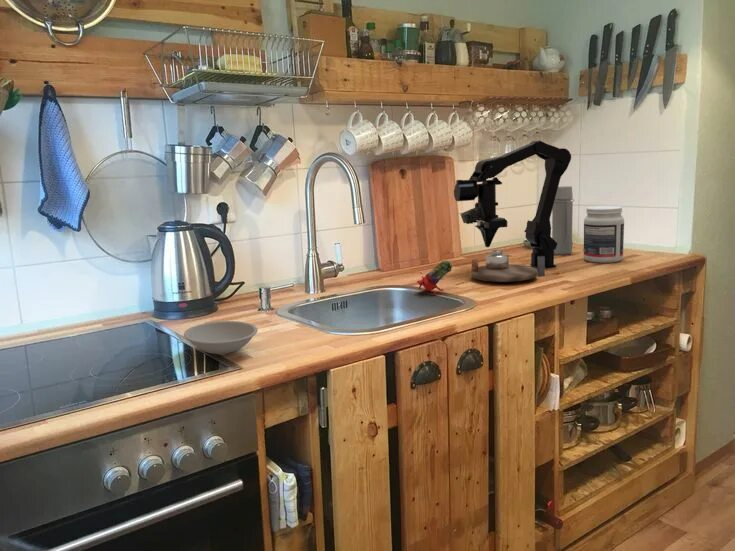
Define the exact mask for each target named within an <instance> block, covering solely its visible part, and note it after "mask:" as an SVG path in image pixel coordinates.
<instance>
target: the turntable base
mask: <svg viewBox="0 0 735 551" xmlns="http://www.w3.org/2000/svg"><path fill="white" fill-rule="evenodd" d="M488 282H490V283H497V284H498V283H500V284H501V283H502V284H503V283H504V284H507V283H508V284H510V283H518V282H519V281H510V282H497V281H488Z"/></svg>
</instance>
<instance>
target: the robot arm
mask: <svg viewBox="0 0 735 551" xmlns="http://www.w3.org/2000/svg"><path fill="white" fill-rule="evenodd" d="M535 155H536V156H537V157H538V158H540V159H542V160H544V171H545V178H544V180H543V185H542V189H541V193H540V197H539V200H538V205H537V208H536V213H535V215H534V218H533V219H532V220H527V222H526V227H525V229H524V231H523V232H524V233H525V239H526V241H527V242H528V243H529V245H530V247H531V248H532V252H531V255H530V259H531V262H530V265H529V266H530V267H534V268H536V269H538V256H544V257H545V268H555V267H557V265H556V264H555V254H554V249H556V247H557V242H556V241H555V240H554V239H553V238H552V227H551V226H552V225H551V216H552V209H553V205H554V201H555V197H556V193H557V190H558V186H560V182H561V178H562V176H563V175H564V174H565V172H566V171H567V170H568V168H569V165H570V163H571V160H572V154H571V152H570V151H569V150H568V149H567V148H564V147H563V148H562V147H561V148H559V147H557V146H555V145H552V144H551V145H550V144H549V143H546V142H544V141H542V140H533V141H530V143H528V144H525V145H523V146H521V147H518V148H516V149H514V150H511V151H509V152H507V153H504V154H503V155H500V156H496V157H490V158H486V159H481V160H479V161H477V162H476V164H475V167H474V171H473V172H472V174H471V176H470V177H469V179H455V180H456V181H455V185H454V188H453V196H454V200H455V202H465V201H475V200H476V198H477V202H475V203H474V207H473V208H470V209H468V210H466V211H464V212H462V213H460V217H461V219H462V222H463V224H466V225H469V224H470V225H471V224H472V225H473V224H474V223H476V225H474V226H475V227H476V228H477V229H478V230H479V231H480V234H481V237H482V240H483V242H484V243H483V244H484V247H485V248H490V246H491V245H492V242H493V240H494V238H495V235H496V234H497V231H498V230H499V228H508V220H507V219H506V218H504V217H499V215H498V214H497V206H499V202H497V197H496V196H497V195H496V194H497V193H496V192H497V189H496V187H497V186H498V185H502V184H503V182H502V181H501V180H500V179H499V178H498V177H497V176H498V175H500V174H501V173H502V172H503V171H505V169H507V168H508V167H510V166H512V165H514V164H517V163H520V162H522V161H523V160H526V159H529V158H531V157H533V156H535Z"/></svg>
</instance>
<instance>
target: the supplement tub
mask: <svg viewBox="0 0 735 551" xmlns="http://www.w3.org/2000/svg"><path fill="white" fill-rule="evenodd" d="M585 213H586V214H587V215H586V216H585V217H584V219H583V259H584V260H585V261H587V262H589V263H597V264H599V263H600V264H610V263H611V264H612V263H617V262H620V261H621V260H623V258H624V241H625V240H624V238H625V236H624V234H625V218H624V216H622V213H623V207H622V206H618V205H601V206H599V205H597V206H587V208H586V212H585Z"/></svg>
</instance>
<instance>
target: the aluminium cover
mask: <svg viewBox="0 0 735 551" xmlns="http://www.w3.org/2000/svg"><path fill="white" fill-rule="evenodd" d="M509 259H510V258H509V254H508V253H503V250H502V249H493V250H492V251H491V253H488V254H485V266H486V268H487V269H494V270H500V269H507V268H509V261H510V260H509Z"/></svg>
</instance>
